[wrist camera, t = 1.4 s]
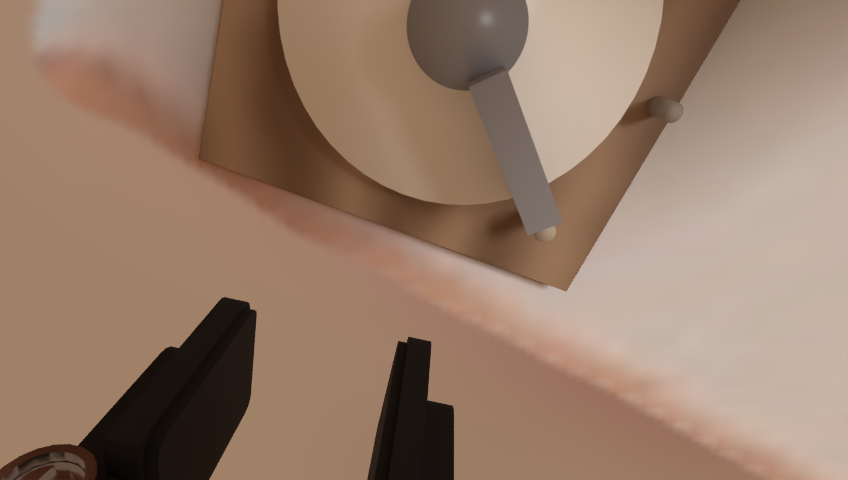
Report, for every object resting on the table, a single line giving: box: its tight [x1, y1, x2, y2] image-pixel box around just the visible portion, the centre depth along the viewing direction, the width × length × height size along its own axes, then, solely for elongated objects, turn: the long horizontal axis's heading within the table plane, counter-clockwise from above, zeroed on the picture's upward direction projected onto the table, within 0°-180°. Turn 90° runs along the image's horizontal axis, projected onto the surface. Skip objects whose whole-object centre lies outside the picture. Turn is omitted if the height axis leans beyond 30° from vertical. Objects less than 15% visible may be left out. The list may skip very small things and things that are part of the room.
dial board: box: [199, 0, 740, 291], centre depth 22 cm, size 24×24×6 cm
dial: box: [277, 0, 664, 236], centre depth 20 cm, size 18×18×6 cm
